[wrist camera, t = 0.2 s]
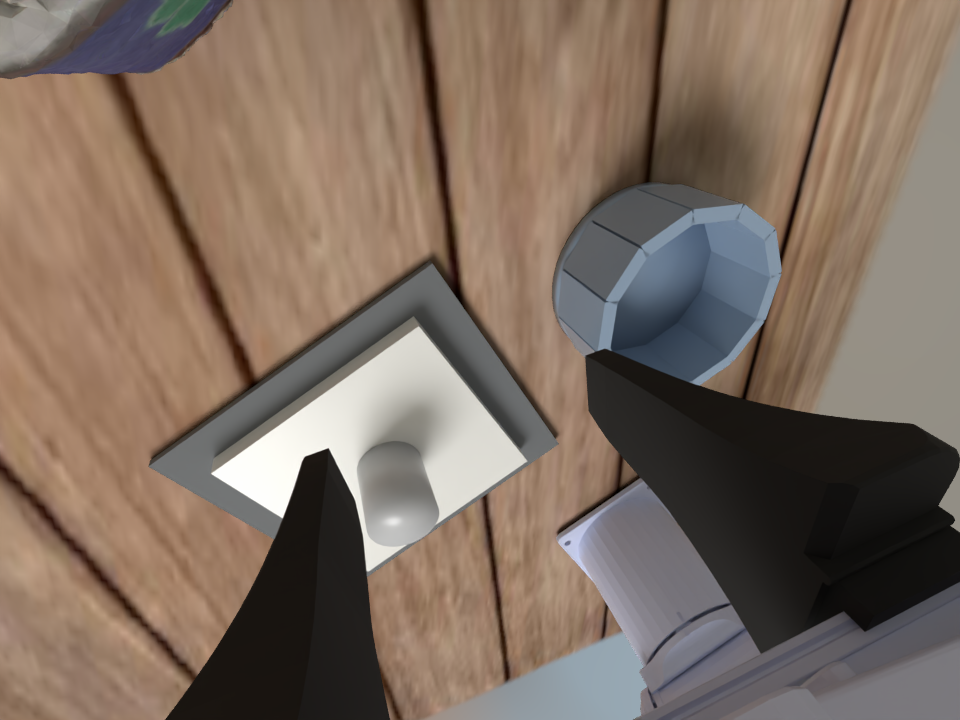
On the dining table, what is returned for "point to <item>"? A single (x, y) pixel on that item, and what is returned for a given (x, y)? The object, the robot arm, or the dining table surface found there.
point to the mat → (406, 299)
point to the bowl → (667, 279)
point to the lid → (382, 442)
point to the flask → (100, 34)
